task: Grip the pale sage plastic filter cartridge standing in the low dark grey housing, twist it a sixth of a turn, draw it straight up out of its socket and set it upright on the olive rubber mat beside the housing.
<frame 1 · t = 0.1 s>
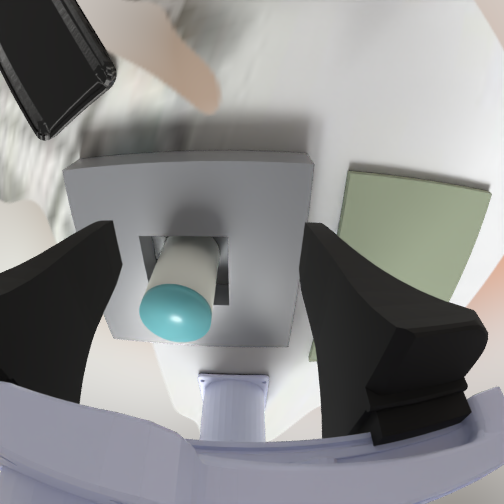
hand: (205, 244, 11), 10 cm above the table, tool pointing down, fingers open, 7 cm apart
phone: (43, 39, 13), on the table
mat: (398, 284, 25), on the table
cartridge: (183, 281, 20), in the housing
housing: (191, 253, 23), on the table
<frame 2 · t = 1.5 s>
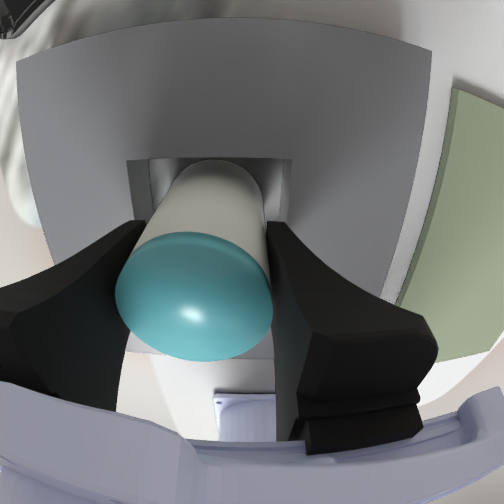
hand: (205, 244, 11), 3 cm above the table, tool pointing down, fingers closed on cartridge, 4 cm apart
mat: (488, 262, 16), on the table
cartridge: (205, 245, 11), in the housing, touching gripper
housing: (214, 205, 14), on the table
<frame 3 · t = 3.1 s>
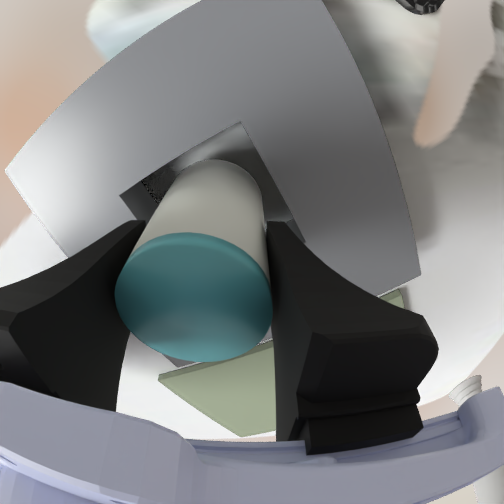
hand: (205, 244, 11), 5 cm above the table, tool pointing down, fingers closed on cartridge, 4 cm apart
chalice: (464, 386, 28), on the table
mat: (300, 385, 24), on the table
cartridge: (205, 245, 11), point 5 cm above the table, touching gripper
housing: (218, 195, 15), on the table
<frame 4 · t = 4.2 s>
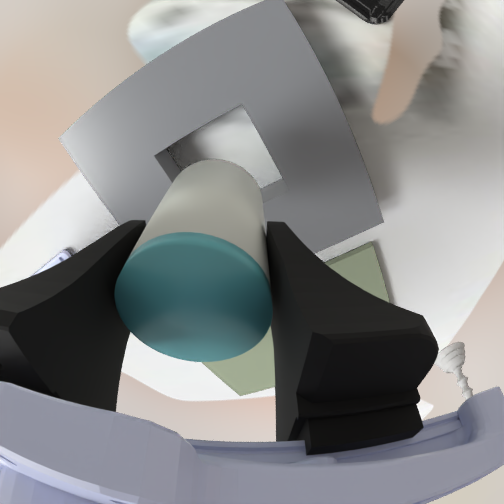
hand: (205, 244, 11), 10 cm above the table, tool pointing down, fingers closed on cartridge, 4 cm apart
chalice: (449, 353, 33), on the table
mat: (293, 336, 29), on the table
cartridge: (205, 245, 11), point 10 cm above the table, touching gripper
housing: (224, 160, 20), on the table
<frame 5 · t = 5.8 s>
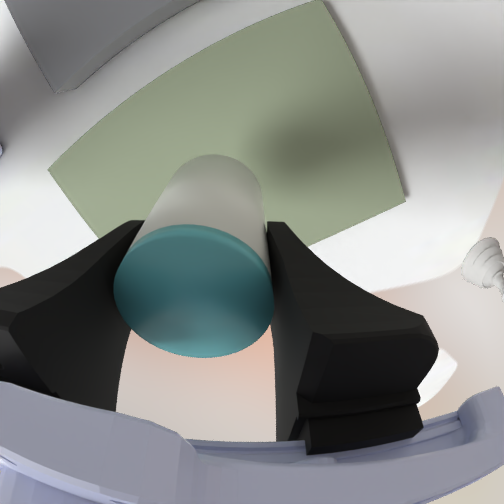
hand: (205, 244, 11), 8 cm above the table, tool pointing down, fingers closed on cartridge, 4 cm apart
chalice: (480, 259, 22), on the table
mat: (222, 172, 18), on the table
cartridge: (205, 240, 11), point 8 cm above the table, touching gripper
when the fingers open (6 cm above the table, at t = 7.1 s): cartridge drops 1 cm, resting on mat.
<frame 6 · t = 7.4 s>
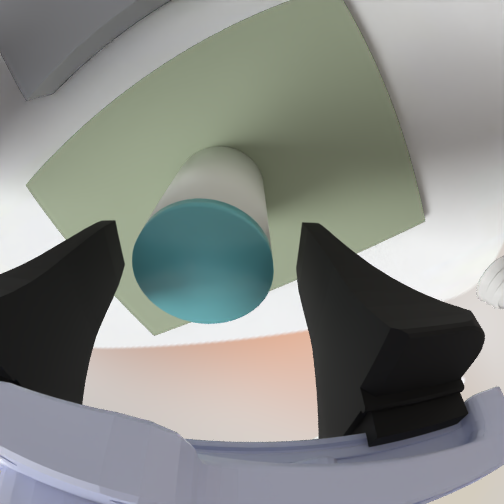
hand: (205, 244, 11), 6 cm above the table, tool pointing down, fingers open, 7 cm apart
chalice: (496, 277, 20), on the table
mat: (218, 188, 16), on the table
cartridge: (212, 220, 12), on the mat, point 4 cm above the table
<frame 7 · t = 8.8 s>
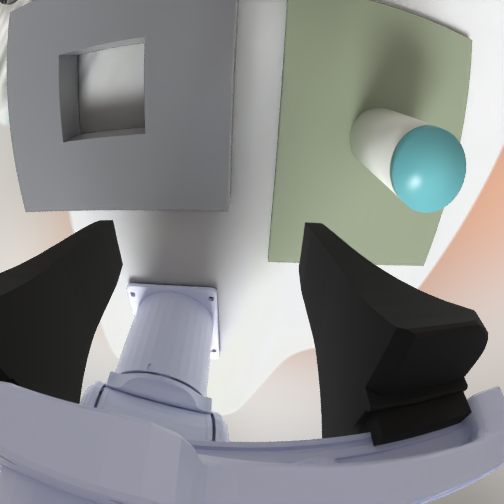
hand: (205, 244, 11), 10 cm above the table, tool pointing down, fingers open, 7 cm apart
mat: (377, 140, 19), on the table
cartridge: (402, 152, 15), on the mat, point 4 cm above the table
housing: (114, 88, 16), on the table
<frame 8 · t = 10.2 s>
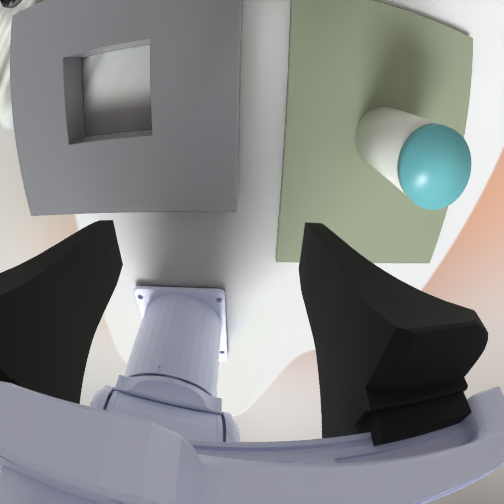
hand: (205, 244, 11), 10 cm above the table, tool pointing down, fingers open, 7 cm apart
mat: (382, 138, 19), on the table
cartridge: (408, 150, 15), on the mat, point 4 cm above the table
housing: (119, 90, 17), on the table
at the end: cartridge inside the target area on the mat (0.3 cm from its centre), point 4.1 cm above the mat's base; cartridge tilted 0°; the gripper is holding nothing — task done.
